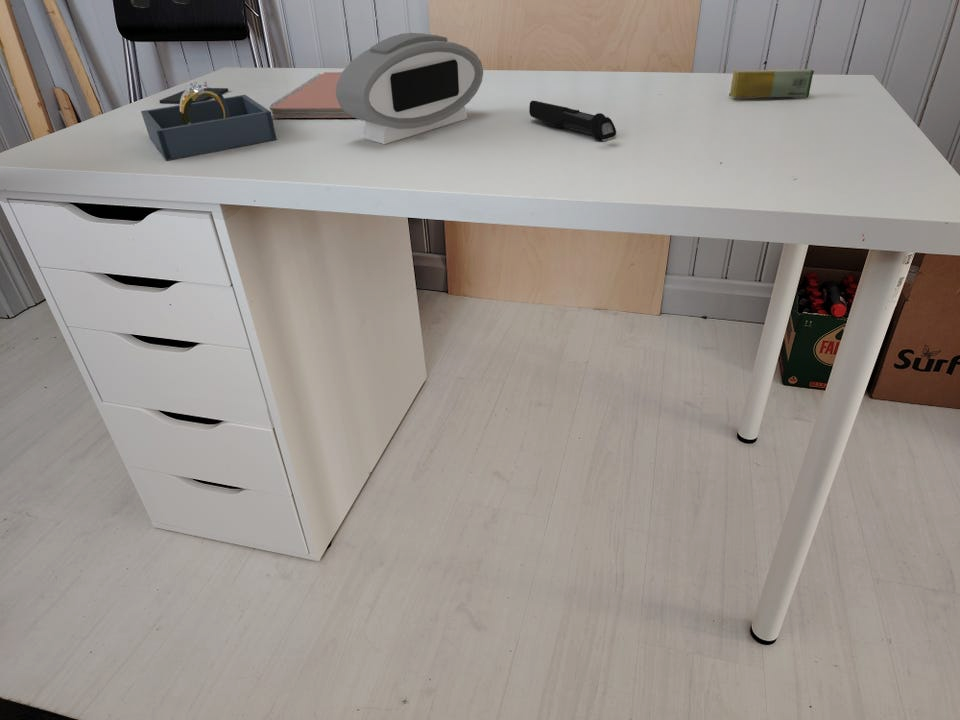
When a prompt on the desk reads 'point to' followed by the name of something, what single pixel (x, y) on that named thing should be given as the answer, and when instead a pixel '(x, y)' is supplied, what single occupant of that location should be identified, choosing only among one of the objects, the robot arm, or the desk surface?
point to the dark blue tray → (208, 127)
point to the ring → (195, 92)
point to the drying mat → (200, 98)
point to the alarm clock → (409, 85)
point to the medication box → (771, 83)
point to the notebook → (311, 100)
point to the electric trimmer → (573, 120)
